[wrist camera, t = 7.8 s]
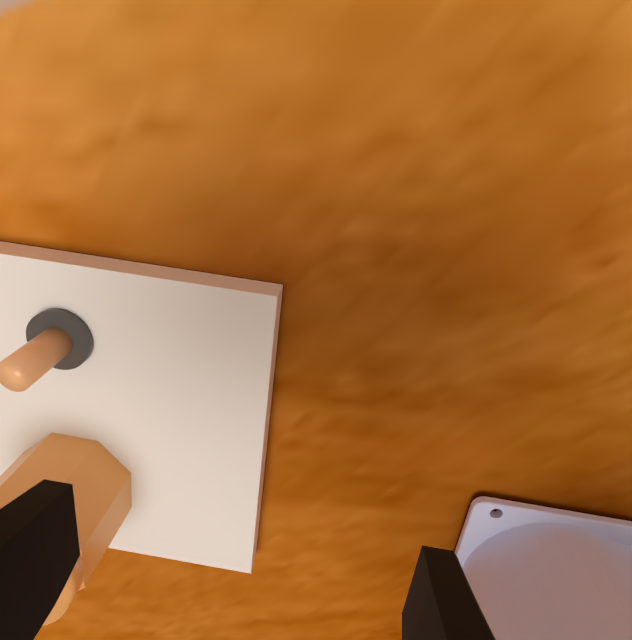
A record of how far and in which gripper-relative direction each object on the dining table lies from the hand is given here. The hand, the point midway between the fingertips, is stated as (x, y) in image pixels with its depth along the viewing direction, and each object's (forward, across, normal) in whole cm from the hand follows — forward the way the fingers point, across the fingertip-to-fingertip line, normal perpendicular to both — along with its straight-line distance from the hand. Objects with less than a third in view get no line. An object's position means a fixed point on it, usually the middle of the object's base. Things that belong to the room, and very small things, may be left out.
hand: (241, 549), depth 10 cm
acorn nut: (+9, +9, +8) cm, 15 cm away
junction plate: (+10, +9, +5) cm, 14 cm away
